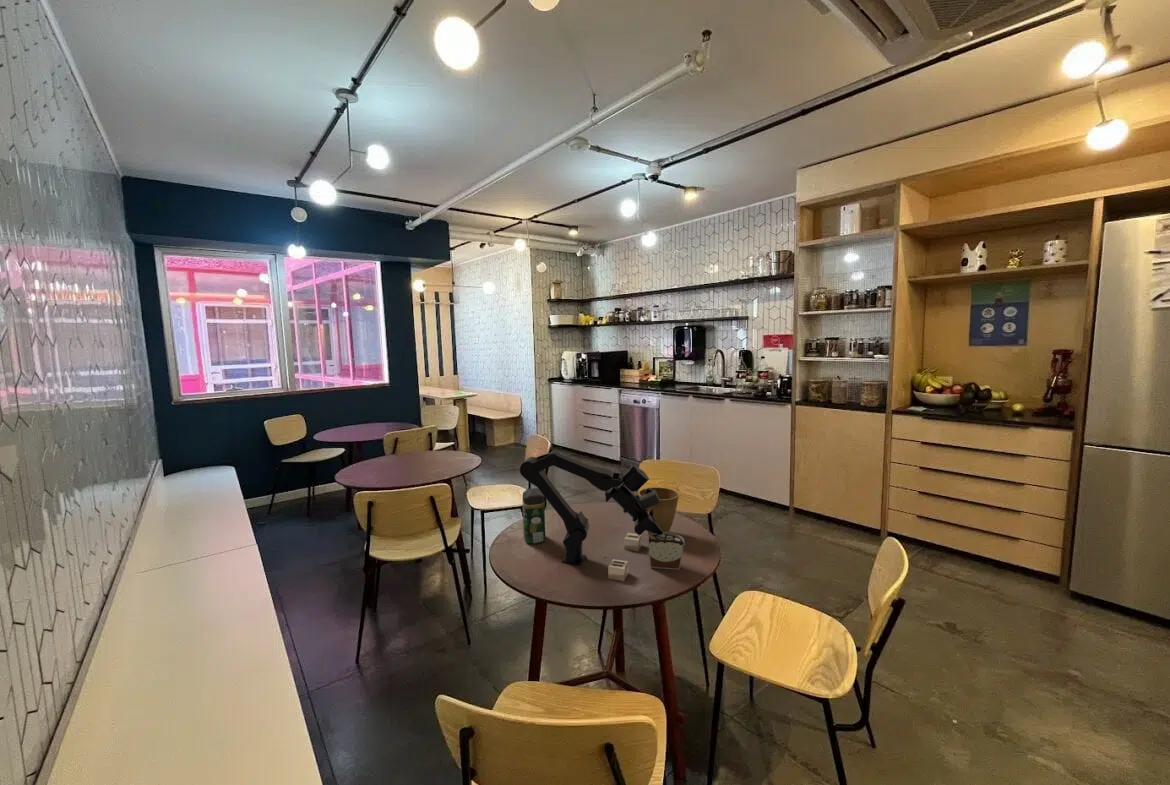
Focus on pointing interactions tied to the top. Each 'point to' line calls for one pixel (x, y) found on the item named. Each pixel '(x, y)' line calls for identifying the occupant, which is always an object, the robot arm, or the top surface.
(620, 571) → the numbered tile two
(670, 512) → the plant pot
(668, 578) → the top surface
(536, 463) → the robot arm
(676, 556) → the food container
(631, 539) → the numbered tile one
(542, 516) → the coffee jar
